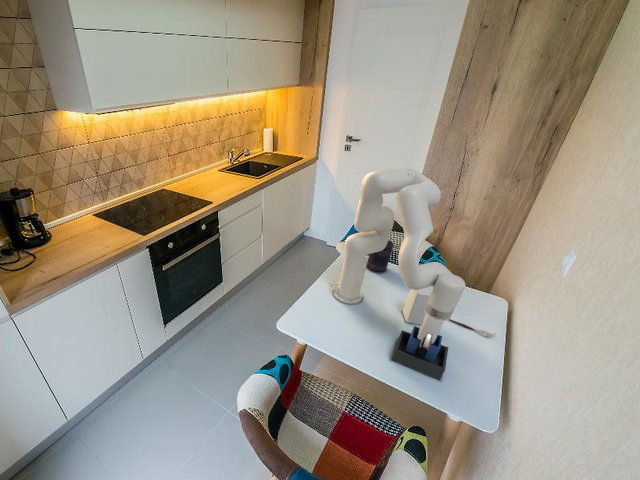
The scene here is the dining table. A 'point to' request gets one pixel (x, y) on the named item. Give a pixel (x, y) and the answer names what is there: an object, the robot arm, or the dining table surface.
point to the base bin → (419, 358)
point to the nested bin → (414, 343)
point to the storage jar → (380, 259)
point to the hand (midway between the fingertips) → (421, 347)
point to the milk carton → (416, 305)
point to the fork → (476, 330)
